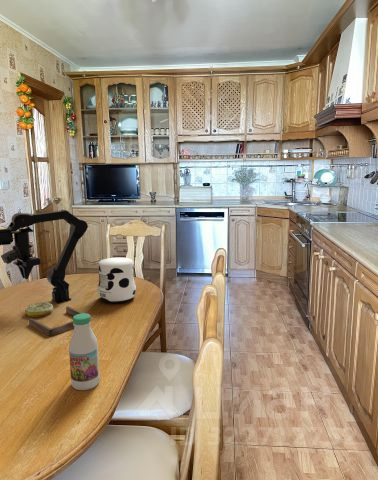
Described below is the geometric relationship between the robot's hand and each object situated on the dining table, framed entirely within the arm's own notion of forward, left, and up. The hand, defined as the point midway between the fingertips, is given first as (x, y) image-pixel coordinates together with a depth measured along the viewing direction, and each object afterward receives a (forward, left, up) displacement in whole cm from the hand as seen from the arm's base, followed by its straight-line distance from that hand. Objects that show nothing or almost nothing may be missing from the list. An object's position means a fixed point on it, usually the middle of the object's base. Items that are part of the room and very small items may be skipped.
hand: (25, 278), depth 157 cm
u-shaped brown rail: (0, +26, -13) cm, 29 cm away
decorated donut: (0, +10, -14) cm, 17 cm away
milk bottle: (+17, +69, -13) cm, 73 cm away
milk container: (-32, +21, -13) cm, 41 cm away
